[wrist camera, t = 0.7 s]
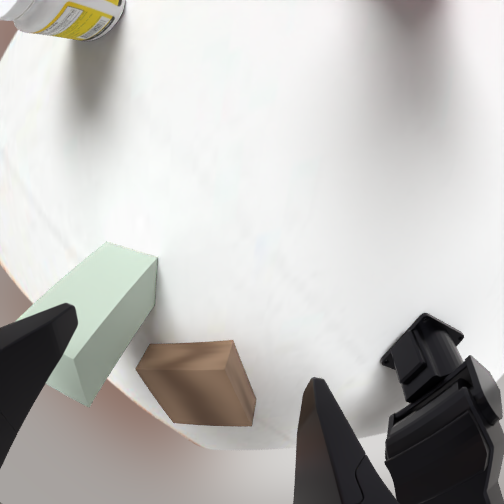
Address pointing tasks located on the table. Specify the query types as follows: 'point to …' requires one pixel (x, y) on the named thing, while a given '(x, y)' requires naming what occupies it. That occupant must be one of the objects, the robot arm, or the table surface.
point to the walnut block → (199, 383)
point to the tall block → (100, 315)
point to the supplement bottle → (63, 17)
